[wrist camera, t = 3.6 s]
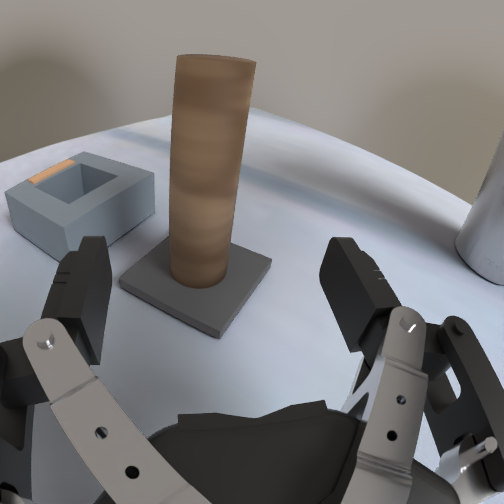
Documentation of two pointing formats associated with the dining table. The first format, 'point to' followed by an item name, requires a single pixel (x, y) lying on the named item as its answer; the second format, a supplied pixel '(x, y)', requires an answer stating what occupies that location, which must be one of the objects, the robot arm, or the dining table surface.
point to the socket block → (80, 202)
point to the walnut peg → (206, 163)
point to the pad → (197, 300)
